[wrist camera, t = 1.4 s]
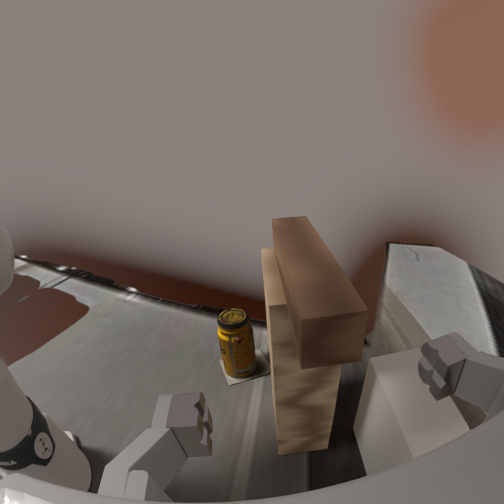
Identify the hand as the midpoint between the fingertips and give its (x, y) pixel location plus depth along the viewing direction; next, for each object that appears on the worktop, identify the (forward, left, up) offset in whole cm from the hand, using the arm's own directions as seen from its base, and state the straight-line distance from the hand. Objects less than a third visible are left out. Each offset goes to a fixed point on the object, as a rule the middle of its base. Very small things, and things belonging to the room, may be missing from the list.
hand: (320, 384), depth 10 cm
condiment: (-6, +35, -32) cm, 48 cm away
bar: (+2, +17, -6) cm, 18 cm away
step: (+14, +10, -32) cm, 36 cm away
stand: (+2, +21, -32) cm, 38 cm away
